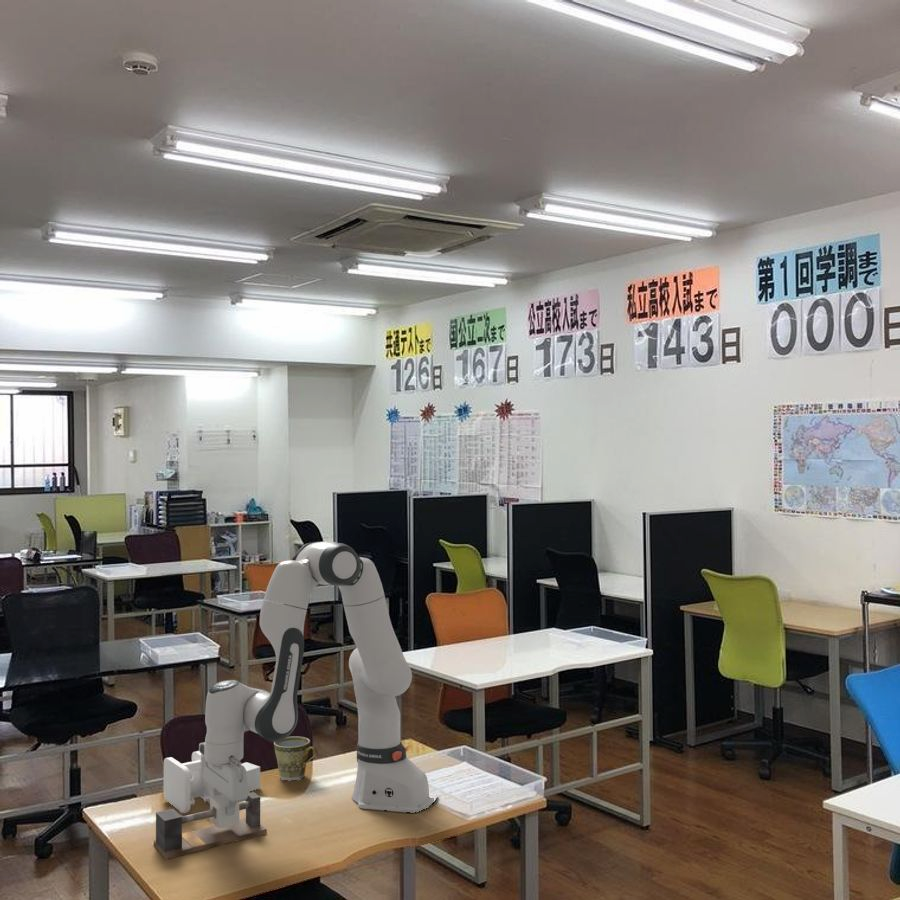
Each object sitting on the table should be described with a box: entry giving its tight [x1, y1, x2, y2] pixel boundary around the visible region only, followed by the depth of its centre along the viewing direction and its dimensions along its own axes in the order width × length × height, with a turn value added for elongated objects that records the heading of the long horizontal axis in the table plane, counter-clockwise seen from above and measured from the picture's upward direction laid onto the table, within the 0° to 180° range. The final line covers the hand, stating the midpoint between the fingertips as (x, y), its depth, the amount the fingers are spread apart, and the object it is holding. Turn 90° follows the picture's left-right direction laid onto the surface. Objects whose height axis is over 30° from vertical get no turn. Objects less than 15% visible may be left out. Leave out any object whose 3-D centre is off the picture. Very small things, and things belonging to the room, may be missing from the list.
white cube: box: [209, 795, 240, 828], centre depth 217 cm, size 5×6×6 cm
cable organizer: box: [163, 750, 213, 814], centre depth 238 cm, size 15×11×12 cm
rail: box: [153, 791, 268, 859], centre depth 215 cm, size 24×9×8 cm, turn 126°
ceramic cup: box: [273, 736, 318, 781], centre depth 256 cm, size 13×10×10 cm
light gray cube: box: [241, 761, 261, 793], centre depth 248 cm, size 6×6×6 cm
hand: (224, 809), depth 217 cm, fingers closed on white cube, 6 cm apart
